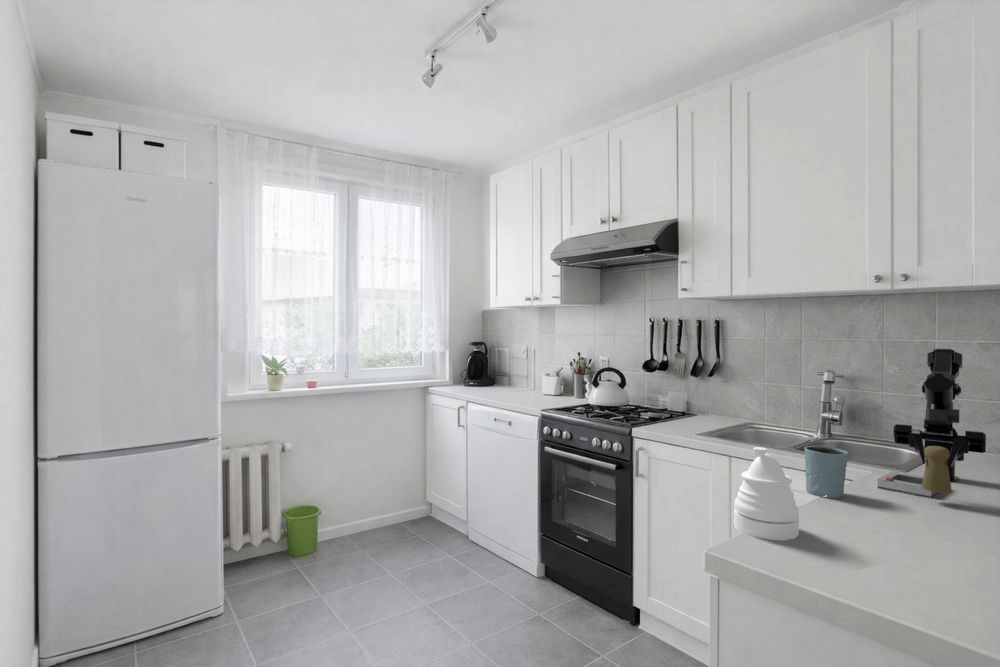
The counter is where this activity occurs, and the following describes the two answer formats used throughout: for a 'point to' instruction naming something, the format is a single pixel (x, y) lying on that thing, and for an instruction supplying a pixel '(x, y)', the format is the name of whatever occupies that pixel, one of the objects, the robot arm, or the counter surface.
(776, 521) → the honey pot
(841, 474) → the teal cup
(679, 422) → the counter surface
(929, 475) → the cork
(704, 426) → the counter surface
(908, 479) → the socket plate
